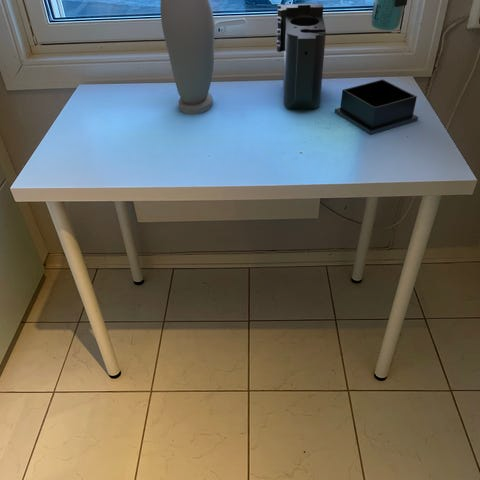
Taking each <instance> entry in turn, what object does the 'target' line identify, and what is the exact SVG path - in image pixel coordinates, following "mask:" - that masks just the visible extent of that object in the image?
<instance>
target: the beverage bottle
mask: <svg viewBox="0 0 480 480" xmlns="http://www.w3.org/2000/svg"><path fill="white" fill-rule="evenodd" d="M372 7H373V8H372V12H371V14H372V15H371V17H370V22H371V26H372V27H373V28H375V29H378V30H381V31H393V30H396V29H398V27H399V26H400V24H401V20H402V15H403V13H404V7H405V6H400V7H395V0H374V1H373V6H372Z"/></svg>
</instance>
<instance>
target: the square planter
mask: <svg viewBox="0 0 480 480" xmlns="http://www.w3.org/2000/svg"><path fill="white" fill-rule="evenodd" d="M417 97H418V96H417V95H415V94H413V93H411V92H409V91H407V90H406V89H403V88H401V87H399V86H397V85H395V84H392V83H391V82H389V81H387V80H385V79H382V78H381V79H379V80H375V81H371V82H367V83H364V84H359V85H356V86H352V87H348V88H344V89H342V90H341V97H340V98H341V99H340V107H337V108H334V113H335V114H336V115H338V116H339V117H341V118H342V119H344V120H346V121H347V122H349V123H351V124H352V125H354V126H356V128H358V129H360V130H362V131H364V132H365V133H366V134H368V135H370V136H371V135H375V134H377V133H378V134H379V133H381V132H385V131H388V130H391V129H395V128H397V127H402V126H404V125H408V124H411V123H415V122H417V121H418V120H419V116H417V115H416V114H414V113H415V107H416V103H417Z"/></svg>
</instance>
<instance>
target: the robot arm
mask: <svg viewBox="0 0 480 480" xmlns="http://www.w3.org/2000/svg"><path fill="white" fill-rule="evenodd" d="M407 5H408V0H395V7H400V6H404V7H405V6H407Z"/></svg>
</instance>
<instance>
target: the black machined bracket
mask: <svg viewBox="0 0 480 480" xmlns="http://www.w3.org/2000/svg"><path fill="white" fill-rule="evenodd" d="M276 26H277V28H276V52H278V53H282V52H283V79H282V80H283V81H282V82H283V83H282V85H283V86H282V94H283V105H284V107H285V108H286V109H288V110H315V109H317V108H319V106H321V98H322V97H321V95H322V88H323V87H322V83H323V74H324V73H323V71H324V59H325V47H326V37H327V36H326V35H327V32H326V29H327V28H326V24H325V20H324V4H322V3H293V4H291V3H290V4H281V3H280V4H277V19H276Z"/></svg>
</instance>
